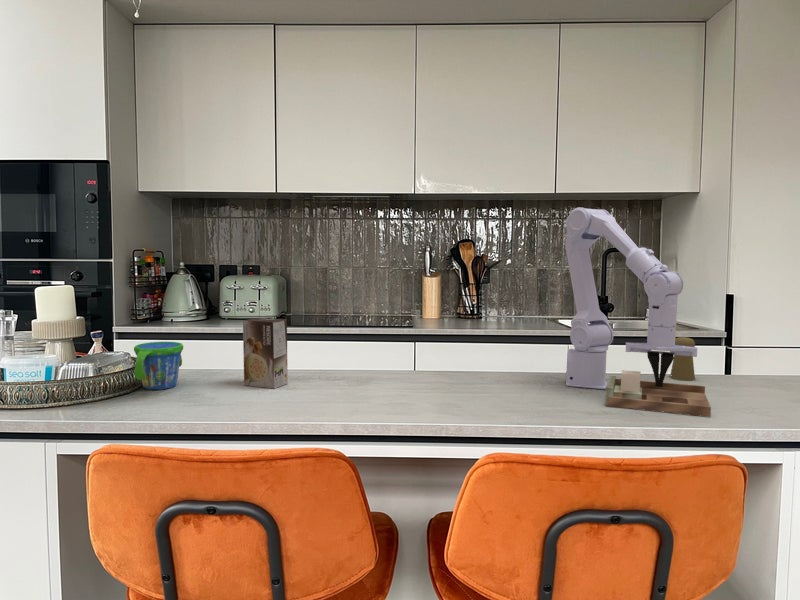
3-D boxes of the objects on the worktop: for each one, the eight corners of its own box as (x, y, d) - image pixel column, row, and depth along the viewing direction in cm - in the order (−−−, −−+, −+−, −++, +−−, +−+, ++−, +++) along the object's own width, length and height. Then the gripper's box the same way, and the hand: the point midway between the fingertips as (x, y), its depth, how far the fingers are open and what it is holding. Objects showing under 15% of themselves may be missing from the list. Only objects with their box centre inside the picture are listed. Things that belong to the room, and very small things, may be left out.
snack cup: (155, 396, 131) (154, 351, 130) (116, 392, 134) (115, 348, 133) (199, 382, 146) (198, 341, 145) (163, 378, 149) (163, 339, 148)
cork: (697, 381, 154) (700, 339, 153) (673, 380, 155) (675, 338, 154) (691, 376, 159) (693, 336, 159) (667, 375, 161) (669, 335, 160)
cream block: (620, 390, 133) (621, 373, 133) (621, 387, 137) (621, 370, 136) (639, 392, 131) (640, 374, 131) (639, 388, 135) (640, 371, 135)
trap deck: (606, 406, 127) (606, 387, 126) (609, 392, 140) (610, 375, 139) (710, 417, 119) (711, 397, 119) (703, 401, 132) (704, 383, 132)
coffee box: (289, 383, 145) (289, 319, 144) (274, 389, 139) (273, 321, 138) (258, 380, 148) (257, 317, 147) (242, 385, 142) (241, 319, 141)
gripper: (626, 325, 130) (623, 386, 131) (699, 329, 124) (696, 392, 125) (627, 322, 136) (624, 380, 137) (697, 326, 131) (693, 386, 132)
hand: (658, 385), depth 132 cm, fingers closed
